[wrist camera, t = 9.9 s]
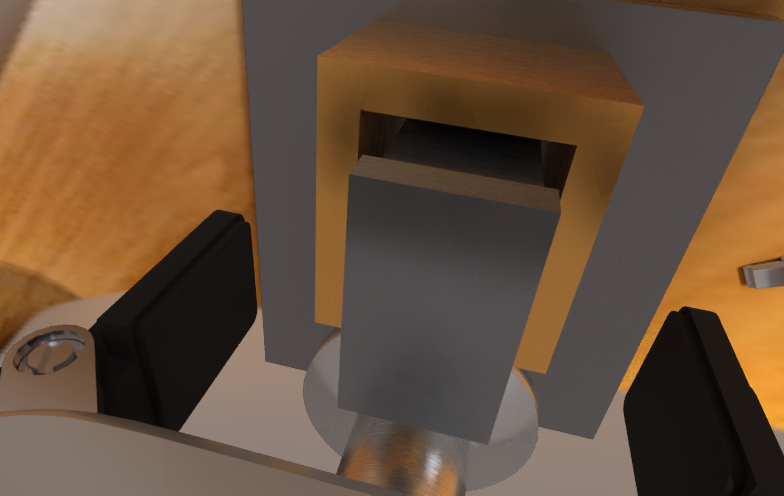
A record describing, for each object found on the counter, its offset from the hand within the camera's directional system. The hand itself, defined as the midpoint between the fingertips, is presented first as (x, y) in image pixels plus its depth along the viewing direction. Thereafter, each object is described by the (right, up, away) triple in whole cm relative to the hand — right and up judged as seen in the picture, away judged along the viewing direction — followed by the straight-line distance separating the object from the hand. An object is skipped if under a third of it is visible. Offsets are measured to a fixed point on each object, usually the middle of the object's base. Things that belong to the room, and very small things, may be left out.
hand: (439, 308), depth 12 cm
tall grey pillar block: (+2, +5, +8) cm, 10 cm away
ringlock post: (+2, +2, +12) cm, 12 cm away
